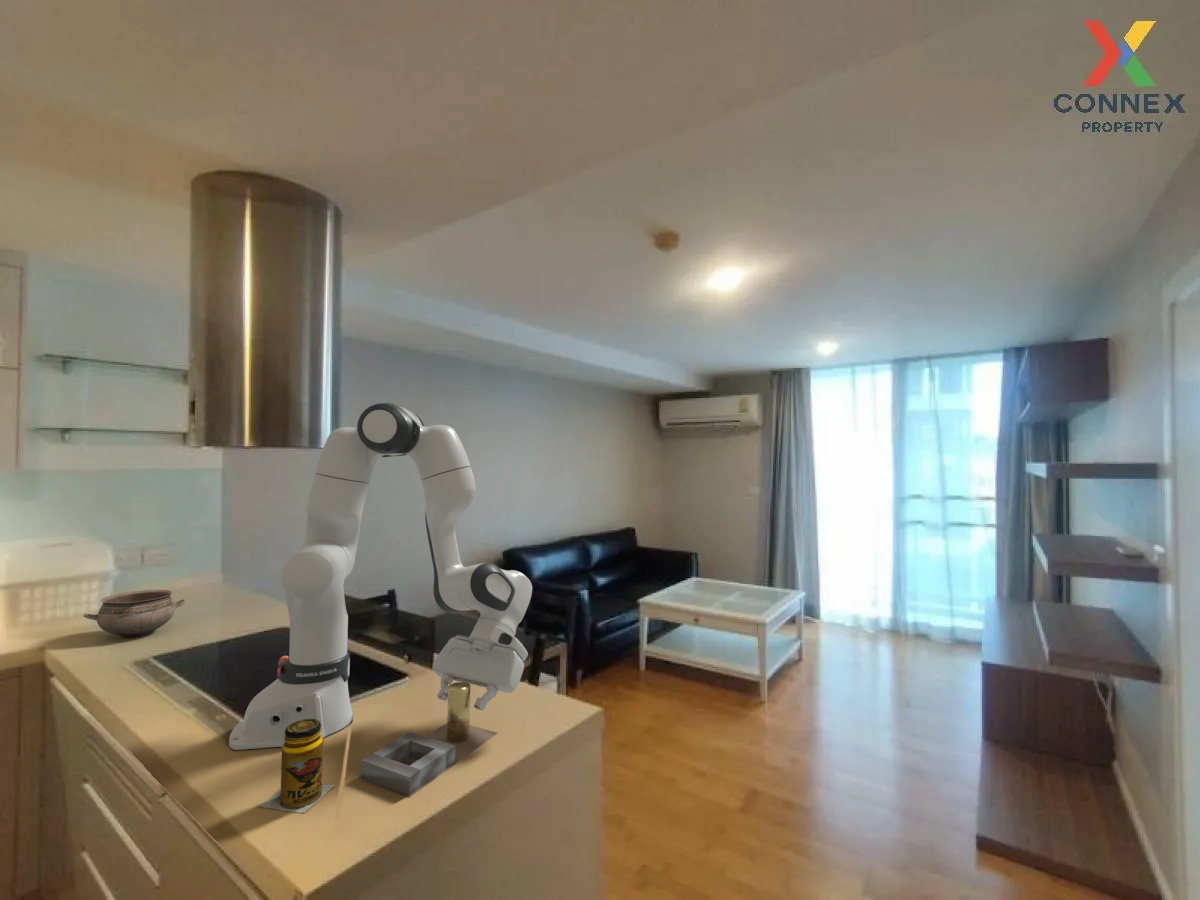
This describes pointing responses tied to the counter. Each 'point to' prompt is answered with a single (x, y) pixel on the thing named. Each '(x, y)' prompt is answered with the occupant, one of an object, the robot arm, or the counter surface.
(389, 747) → the jig
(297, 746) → the condiment
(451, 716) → the translucent yellow cylinder
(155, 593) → the cooking pot
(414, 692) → the counter surface
